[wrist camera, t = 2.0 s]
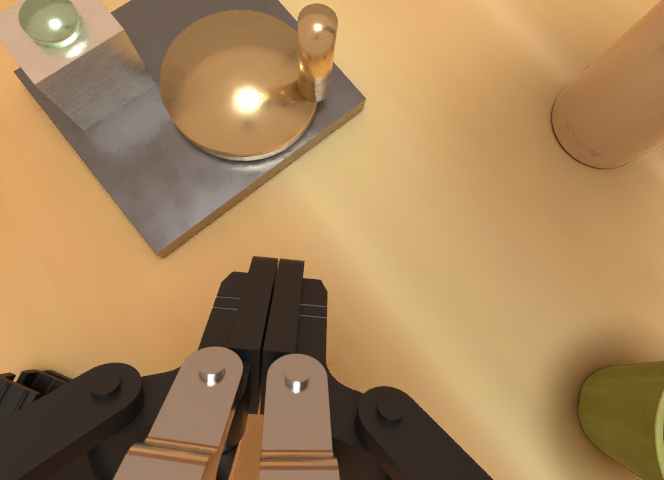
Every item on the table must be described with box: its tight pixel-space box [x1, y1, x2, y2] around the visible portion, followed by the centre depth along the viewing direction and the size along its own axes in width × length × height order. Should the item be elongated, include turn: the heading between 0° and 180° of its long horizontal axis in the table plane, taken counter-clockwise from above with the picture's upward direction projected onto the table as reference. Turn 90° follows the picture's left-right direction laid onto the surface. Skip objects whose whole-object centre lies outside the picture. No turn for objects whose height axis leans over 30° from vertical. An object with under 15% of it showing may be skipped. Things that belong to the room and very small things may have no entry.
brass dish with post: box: [160, 4, 338, 161], centre depth 33 cm, size 13×13×10 cm
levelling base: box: [0, 0, 366, 258], centre depth 35 cm, size 22×20×10 cm
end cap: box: [0, 370, 73, 421], centre depth 30 cm, size 10×7×7 cm
